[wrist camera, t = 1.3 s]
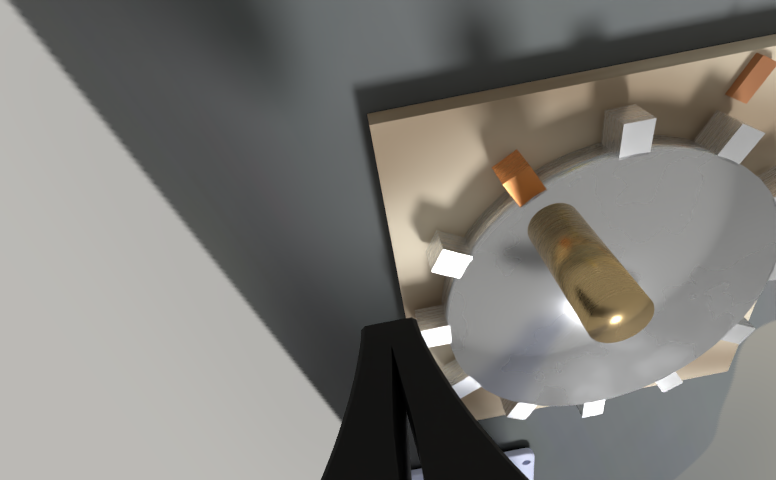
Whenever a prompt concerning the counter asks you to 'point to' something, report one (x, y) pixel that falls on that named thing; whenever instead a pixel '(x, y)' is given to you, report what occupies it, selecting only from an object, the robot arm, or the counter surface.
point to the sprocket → (606, 266)
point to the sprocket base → (551, 152)
